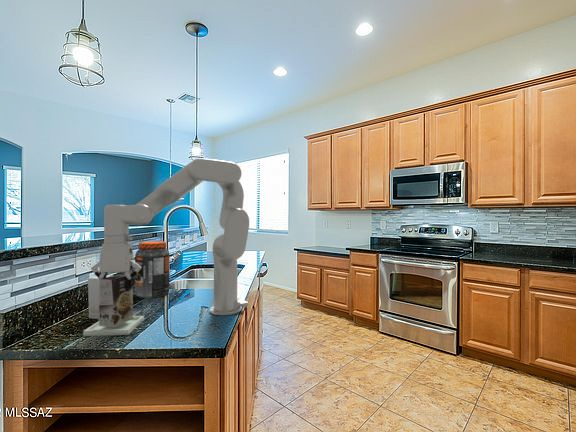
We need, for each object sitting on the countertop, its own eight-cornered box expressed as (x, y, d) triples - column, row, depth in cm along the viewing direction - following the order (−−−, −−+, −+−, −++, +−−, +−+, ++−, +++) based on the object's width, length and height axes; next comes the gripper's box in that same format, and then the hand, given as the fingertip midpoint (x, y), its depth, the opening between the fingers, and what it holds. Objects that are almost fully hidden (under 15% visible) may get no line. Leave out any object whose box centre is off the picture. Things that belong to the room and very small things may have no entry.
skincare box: (119, 315, 121) (119, 275, 121) (104, 320, 114) (105, 278, 114) (101, 313, 123) (102, 274, 123) (87, 318, 117) (87, 277, 117)
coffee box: (114, 327, 103) (114, 279, 103) (98, 326, 104) (98, 278, 104) (133, 318, 112) (133, 274, 111) (118, 317, 113) (118, 273, 113)
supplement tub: (134, 292, 156) (134, 241, 155) (167, 289, 163) (167, 240, 163) (135, 300, 142) (135, 244, 141) (171, 296, 149) (171, 242, 149)
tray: (144, 320, 115) (144, 315, 115) (128, 334, 101) (128, 329, 101) (104, 321, 114) (105, 316, 114) (83, 335, 100) (83, 330, 100)
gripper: (146, 238, 112) (146, 287, 112) (96, 239, 111) (96, 288, 111) (138, 240, 105) (138, 292, 105) (84, 240, 103) (84, 293, 103)
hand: (116, 289), depth 108 cm, fingers closed on coffee box, 7 cm apart
